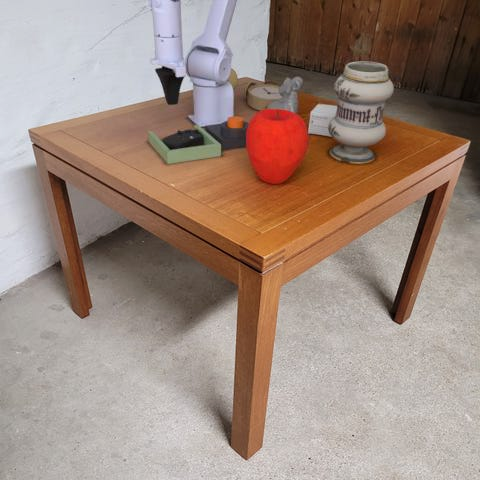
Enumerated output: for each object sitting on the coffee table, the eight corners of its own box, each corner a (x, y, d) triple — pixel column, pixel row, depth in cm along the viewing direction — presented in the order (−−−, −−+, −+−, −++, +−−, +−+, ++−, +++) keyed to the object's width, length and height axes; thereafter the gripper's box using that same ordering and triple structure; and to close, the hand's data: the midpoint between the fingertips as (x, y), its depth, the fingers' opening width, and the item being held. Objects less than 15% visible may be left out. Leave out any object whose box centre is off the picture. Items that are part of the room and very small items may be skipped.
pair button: (224, 125, 114) (224, 117, 113) (239, 123, 115) (239, 115, 114) (231, 130, 111) (231, 122, 110) (246, 128, 112) (246, 120, 111)
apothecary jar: (318, 160, 109) (330, 69, 97) (331, 141, 117) (344, 56, 106) (375, 170, 105) (394, 76, 94) (384, 150, 114) (402, 62, 103)
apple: (307, 171, 104) (315, 103, 95) (300, 196, 95) (307, 123, 87) (251, 165, 106) (253, 97, 97) (238, 188, 97) (240, 116, 88)
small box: (307, 133, 121) (309, 111, 118) (315, 124, 127) (318, 102, 123) (339, 139, 119) (342, 116, 116) (346, 128, 125) (350, 107, 121)
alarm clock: (258, 102, 130) (237, 76, 138) (256, 120, 133) (235, 94, 142) (297, 98, 133) (274, 73, 142) (294, 116, 137) (271, 90, 146)
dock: (198, 135, 119) (198, 124, 117) (221, 156, 109) (221, 144, 108) (148, 142, 114) (147, 130, 113) (167, 164, 105) (167, 152, 103)
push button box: (205, 135, 119) (204, 117, 116) (240, 130, 122) (240, 113, 119) (222, 150, 112) (222, 132, 109) (259, 145, 115) (260, 127, 112)
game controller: (188, 132, 117) (200, 118, 112) (200, 153, 117) (213, 139, 113) (156, 143, 111) (168, 128, 106) (169, 165, 112) (181, 151, 107)
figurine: (261, 116, 130) (263, 71, 124) (300, 120, 129) (304, 74, 122) (255, 126, 124) (257, 79, 117) (296, 130, 122) (300, 83, 116)
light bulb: (225, 113, 131) (225, 71, 125) (208, 107, 134) (207, 66, 128) (242, 108, 135) (243, 67, 129) (224, 102, 138) (225, 62, 132)
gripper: (139, 29, 108) (145, 96, 117) (160, 43, 98) (165, 115, 107) (170, 27, 110) (174, 93, 119) (194, 41, 100) (196, 112, 109)
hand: (172, 103), depth 113 cm, fingers closed
